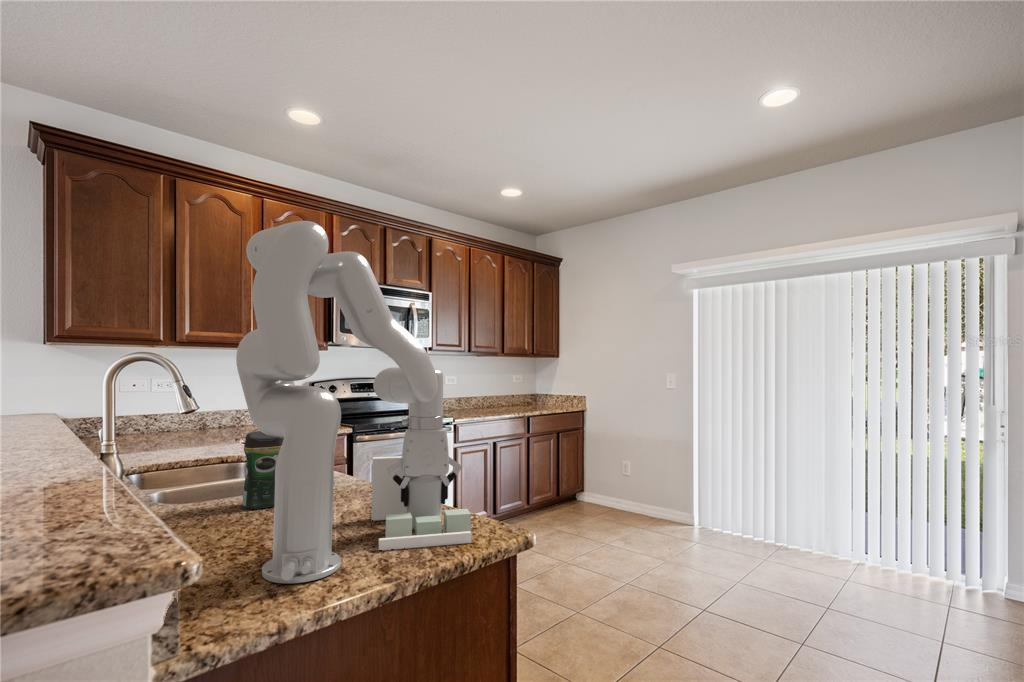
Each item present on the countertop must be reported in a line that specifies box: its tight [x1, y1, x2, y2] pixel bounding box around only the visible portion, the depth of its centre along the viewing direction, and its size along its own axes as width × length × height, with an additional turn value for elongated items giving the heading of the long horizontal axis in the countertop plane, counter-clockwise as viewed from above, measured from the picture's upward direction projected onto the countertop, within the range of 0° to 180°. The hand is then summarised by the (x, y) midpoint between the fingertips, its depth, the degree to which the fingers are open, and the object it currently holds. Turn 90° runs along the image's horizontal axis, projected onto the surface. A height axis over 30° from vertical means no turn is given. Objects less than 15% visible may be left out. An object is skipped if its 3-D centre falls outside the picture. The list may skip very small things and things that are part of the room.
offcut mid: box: [414, 516, 443, 536], centre depth 106 cm, size 4×5×4 cm
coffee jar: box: [242, 430, 284, 510], centre depth 130 cm, size 10×8×19 cm
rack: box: [371, 455, 472, 551], centre depth 111 cm, size 22×19×14 cm
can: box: [407, 475, 442, 531], centre depth 114 cm, size 8×8×12 cm
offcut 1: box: [384, 512, 413, 538], centre depth 104 cm, size 4×5×5 cm
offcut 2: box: [443, 508, 472, 533], centre depth 108 cm, size 4×5×5 cm
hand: (424, 503), depth 114 cm, fingers closed on can, 7 cm apart
